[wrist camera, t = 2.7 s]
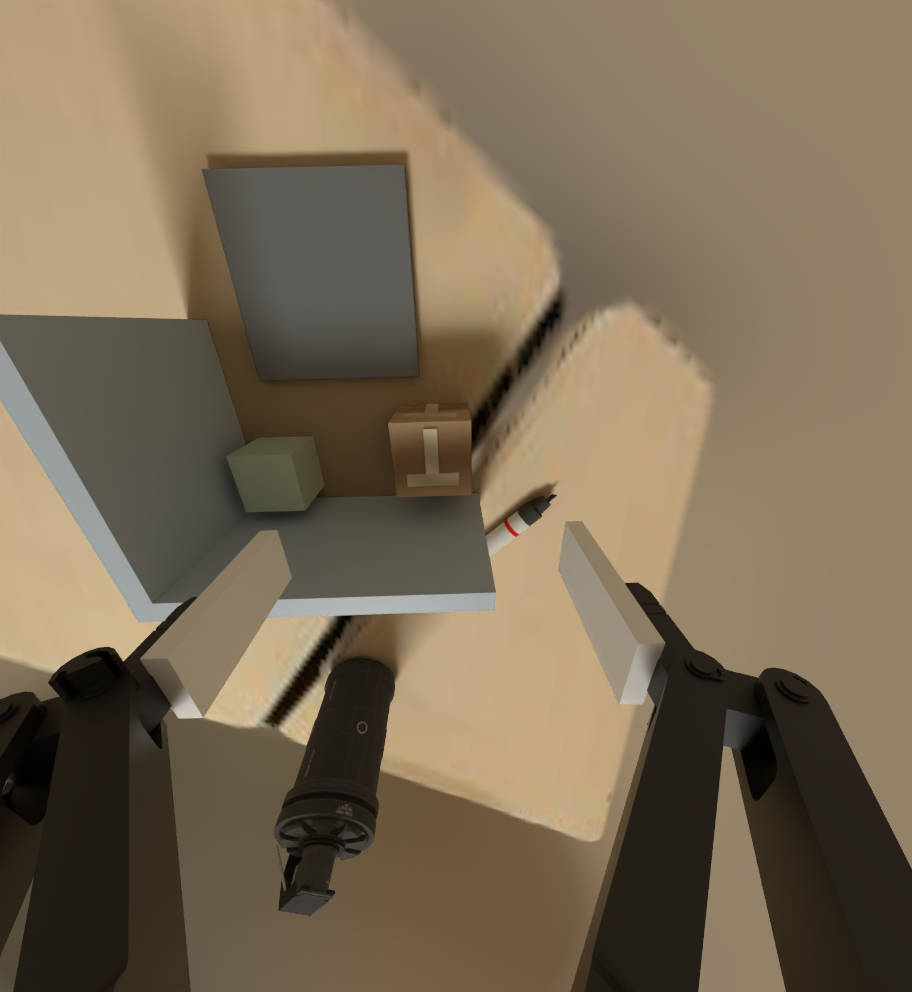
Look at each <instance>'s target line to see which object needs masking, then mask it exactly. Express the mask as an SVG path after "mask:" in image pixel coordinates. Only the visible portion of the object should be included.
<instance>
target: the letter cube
mask: <svg viewBox="0 0 912 992" xmlns="http://www.w3.org/2000/svg"><path fill="white" fill-rule="evenodd" d="M388 428H389V436H390V445H391V453H392V462H393V470H394V479H395V487H396V496H397V497H423V496H455V495H472V471H471V417H470V413H469V409H468V405H467V404H438V403H436V404H427V405H406V406H398V408H397V409H396V411H395V413H394V414H393V416H392V417H391V419H390V421H389V422H388Z"/></svg>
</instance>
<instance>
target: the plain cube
mask: <svg viewBox="0 0 912 992" xmlns="http://www.w3.org/2000/svg"><path fill="white" fill-rule="evenodd" d="M226 457H227V460H228V463H229V465H230V468H231V471H232V474H233V477H234V480H235V483H236V485H237V488H238V491H239V494H240V497H241V500H242V502H243V505H244V508H245V511H246V512H274V511H305V510H306V509H307V508H308V507H309V505H310V504H311V503H312V501H313V500H314V499H315V498H316V496H317V495H318V494H319V492H320V491H321V490H322V489H323V487H324V486H325V485H324V481H323V476H322V472H321V467H320V463H319V458H318V454H317V449H316V445H315V440H314V436H298V437H263V438H257V439H255V440H253V441H252V442H250V443H248V444H247V445H245V446H243V447H241V448H240V449H238V450H236V451H235V452H233V453H231V454H229V455H228V456H226Z"/></svg>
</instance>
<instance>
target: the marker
mask: <svg viewBox="0 0 912 992" xmlns="http://www.w3.org/2000/svg"><path fill="white" fill-rule="evenodd" d="M556 496H557V495H553V494H552V495H551V496H549V497H548V498H547V499H546V498H545V497H544V496H542V497H540V498H539V499H537V500H535V501H534V502H532V503H531V502H528V503H527V504H526V505H525V506H523V507H522V508H521V509H520V510H518V511H516V512H515V513H514V514H513V515H511V516H510V517H509V518H508V519H506V520H505V521H504V522H503V523H501V524H500V525H499V526H498V527H496V528H495V529H494V530H493V531H491V532H490V533H489V534H488V535H486V540H487V546H488V551H489V557H491V556H492V555H493V554H495V553H496V552H497V551H499V550H500V549H501V548H502V547H504V546H505V545H506V544H508V543H509V542H510V541H512V540H513V539H514V538H515V537H517V536H518V535H519V534H521V533H522V532H523V531H525V530H526V529H527V528H528V527H530V525H532V524H533V523H534V522H536V521H537V520H538V519H539V518H541V517H542V515H541V514H542V513H543V512H544V511H545V510H546V509H547V508H548V507H549V506H550V505H551V504H550V503H549V502H550V501H551V500H552V499H553V498H555V497H556ZM489 543H490V544H489Z"/></svg>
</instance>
